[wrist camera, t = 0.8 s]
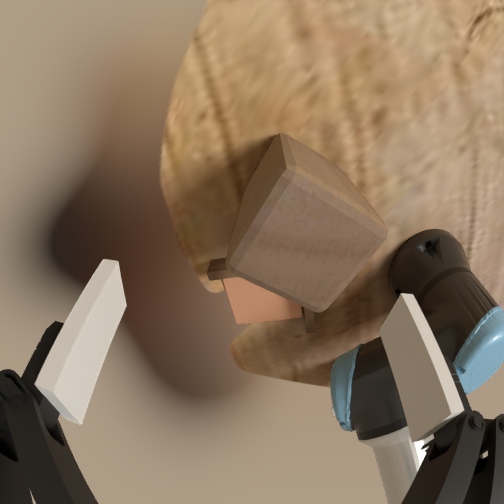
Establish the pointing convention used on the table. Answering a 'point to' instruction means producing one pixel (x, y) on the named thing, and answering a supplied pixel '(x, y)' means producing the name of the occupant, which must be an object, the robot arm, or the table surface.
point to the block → (302, 227)
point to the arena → (221, 272)
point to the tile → (258, 303)
